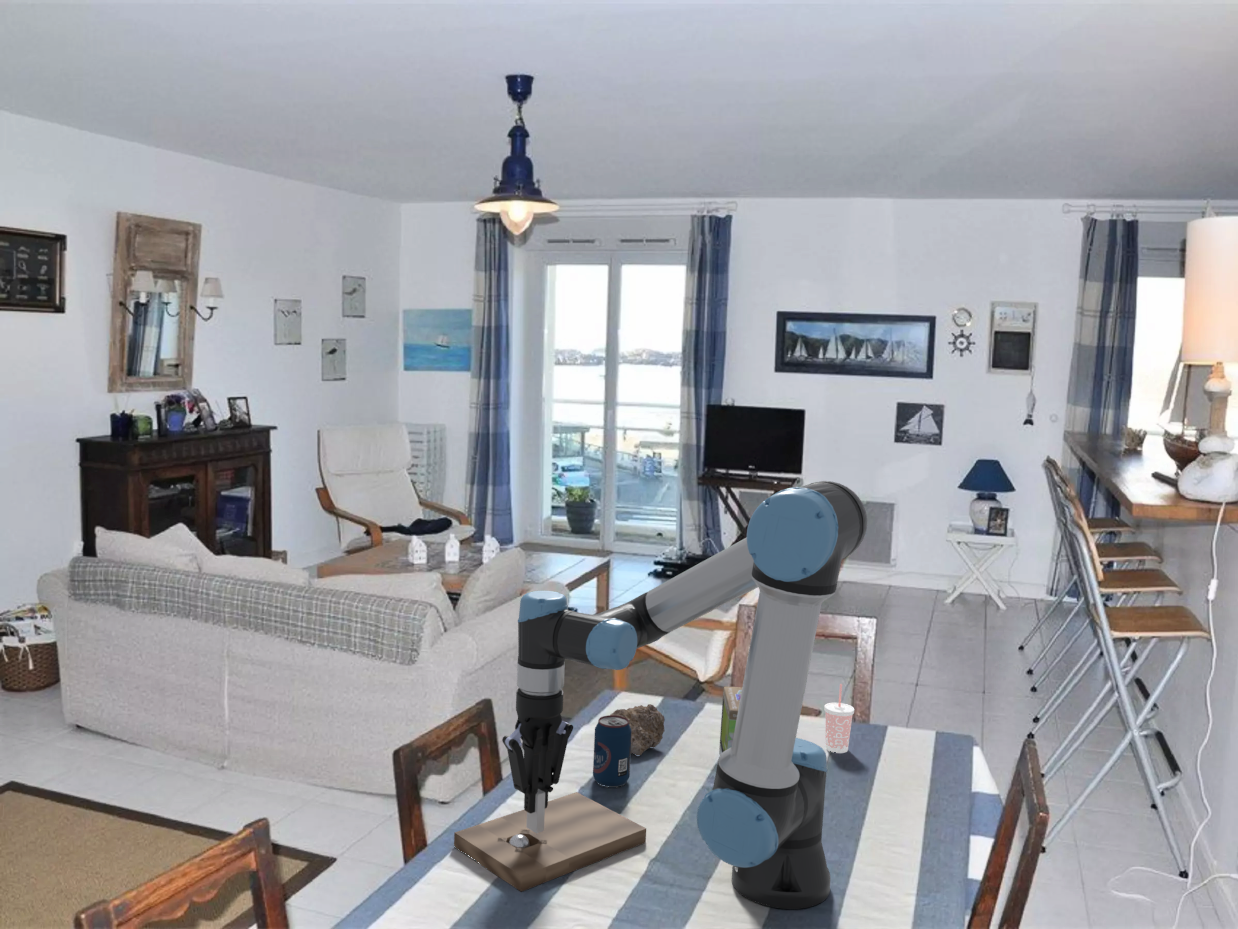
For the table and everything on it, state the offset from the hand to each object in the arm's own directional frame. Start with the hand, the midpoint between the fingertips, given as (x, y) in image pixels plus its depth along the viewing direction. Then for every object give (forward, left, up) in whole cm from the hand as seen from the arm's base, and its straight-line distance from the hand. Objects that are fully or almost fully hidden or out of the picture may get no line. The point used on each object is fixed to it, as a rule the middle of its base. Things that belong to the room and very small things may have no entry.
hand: (535, 829), depth 176 cm
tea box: (+1, -53, -4) cm, 54 cm away
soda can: (+13, -28, -4) cm, 31 cm away
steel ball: (0, +3, -2) cm, 4 cm away
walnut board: (0, -3, -4) cm, 5 cm away
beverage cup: (-3, -77, -4) cm, 78 cm away
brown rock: (+22, -43, -4) cm, 49 cm away
